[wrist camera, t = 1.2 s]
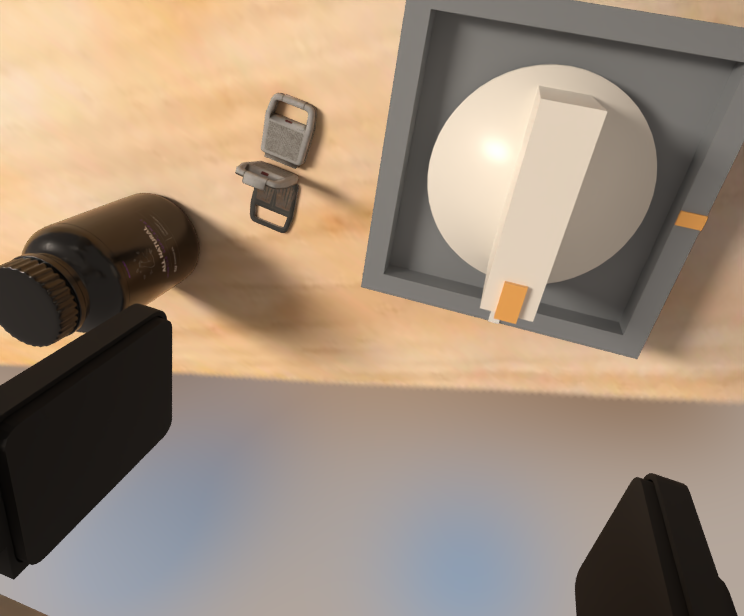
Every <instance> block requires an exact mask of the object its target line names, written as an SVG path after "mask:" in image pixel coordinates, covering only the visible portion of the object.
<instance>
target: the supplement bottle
mask: <svg viewBox="0 0 744 616" xmlns="http://www.w3.org/2000/svg"><path fill="white" fill-rule="evenodd" d="M198 256H199V243H198V238H197V234H196V231H195V229H194V227H193V225H192V223H191V221H190V220H189V218H188V217H187V216H186V214H185V213H184V212H183V211H182V210H181V209H180V208H179V207H178V206H177V205H176V204H174V203H173V202H171V201H170V200H168V199H166V198H164V197H162V196H159V195H156V194H151V193H139V194H134V195H131V196H128V197H125V198H122V199H119V200H117V201H114V202H111V203H108V204H106V205H103V206H100V207H98V208H95V209H92V210H89V211H87V212H84V213H81V214H79V215H76V216H73V217H70V218H68V219H65V220H62V221H59V222H57V223H54V224H51V225H49V226H47V227H44V228H42V229H40V230H38V231H37V232H36V233H34V234H33V235H32V236H31V237H30V239H29V240H28V241H27V243H26V245H25V247H24V249H23V251H22V255H21V256H19V257H16V258H14V259H13V260H11V261H10V262H7V263H5V264H2V265H0V325H1V326H2V327H3V328H4V329H5V331H7V332H8V333H10V334H11V335H12V336H13V337H15V338H17V339H18V340H19V341H21V342H24V343H26V344H27V345H32V346H39V347H42V346H49V345H51V344H53V343H55V342H57V341H59V340H60V339H62V338H64V337H65V336H68V335H71V334H72V333H74V332H75V331H76V332H82V333H87V332H88V331H90V330H92V329H93V328H95V327H97V326H98V325H100V324H101V323H103V322H105V321H106V320H108V319H110V318H111V317H113V316H115V315H116V314H118V313H119V312H121V311H123V310H124V309H126V308H128V307H129V306H131V305H133V304H135V303H138V304H142V305H145V306H146V305H147V304H149V303H150V302H152V301H153V300H155V299H156V298H158V297H159V296H161V295H162V294H164V293H165V292H167V291H168V290H170V289H171V288H173V287H174V286H176V285H177V284H178V283H180V282H181V281H183V280H184V279H185V278H187V277H188V276H189V275H190V274H191V273H192V271H193V270H194V268H195V266H196V264H197V261H198Z"/></svg>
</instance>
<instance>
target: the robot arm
mask: <svg viewBox="0 0 744 616" xmlns="http://www.w3.org/2000/svg"><path fill="white" fill-rule="evenodd" d="M171 422H172V324H171V322H170V321H168V320H167V316H166V314H165V313H164V312H163V311H161V310H158V309H155V308H151V307H148V306H145V305H142V304H138V303H135V304H133V305H131V306H129V307H128V308H126V309H124V310H123V311H121V312H119V313H118V314H116V315H115V316H113V317H111V318H110V319H108V320H106V321H105V322H103V323H101V324H100V325H98V326H97V327H95V328H93V329H92V330H90V331H88V332H87V333H85V334H84V335H82V336H80V337H79V338H77V339H75V340H74V341H72V342H70V343H69V344H67V345H66V346H64V347H62V348H61V349H59V350H57V351H56V352H54V353H53V354H51V355H49V356H48V357H46V358H44V359H43V360H41V361H39V362H38V363H36V364H35V365H33V366H31V367H30V368H28V369H26V370H25V371H23V372H22V373H20V374H18V375H17V376H15V377H13V378H12V379H10V380H9V381H7V382H6V383H4V384H2V385H0V574H3V575H5V576H7V577H9V578H11V579H15V578H16V577H17V576H18V575H19V574H20V573H21V572H22V571H23V570H24V569H25V568H26V567H27V566H28V565H29V564H31V565H34V564H37V563H38V562H40V561H42V559H44V558H45V557H46V556H47V555H48V554H49V553H50V552H51V551H52V550H53V549H54V548H55V547H56V546H57V545H58V544H59V543H60V542H61V541H62V540H63V539H64V538H65V537H66V536H67V535H68V533H70V532H71V531H72V530H73V529H74V527H76V525H77V524H78V523H79V522H80V521H81V520H82V519H83V518H84V517H85V516H86V515H87V514H88V513H89V512H90V511H91V510H92V509H93V508H94V507H95V506H96V505H97V504H98V503H99V502H100V501H101V500H102V499H103V498H104V497H105V496H106V495H107V494H108V493H109V492H110V491H111V490H112V489H113V488H114V487H115V486H116V485H117V484H118V483H119V482H120V481H121V480H122V479H123V478H124V477H125V476H126V475H127V474H128V473H129V472H130V471H131V470H132V468H134V466H135V465H137V464H138V463H139V461H140V460H141V459H142V458H143V457H144V456H145V455H146V454H147V453H148V452H149V451H150V450H151V449H152V448H153V447H154V446H155V445H156V444H157V443H158V442H159V441H160V440H161V439H162V438H163V437H164V436H165V435H166V433H167V431H168V430H169V427H170V425H171ZM575 599H576V613H577V616H737V613H736V610H735V607H734V604H733V601H732V598H731V596H730V593H729V591H728V589H727V587H726V585H725V583H724V582H723V581H722V580H721V579H720V578H719V577H718V573H717V570H716V567H715V564H714V562H713V559H712V556H711V553H710V550H709V547H708V544H707V541H706V538H705V535H704V532H703V530H702V527H701V524H700V521H699V518H698V515H697V512H696V509H695V506H694V503H693V500H692V497H691V494H690V492H689V489H688V487H687V486H686V485H684V484H683V483H680V482H677V481H674V480H671V479H668V478H665V477H662V476H659V475H656V474H653V473H649V474H648V475H646V476H645V477H644V479H642V478H639V477H636V478H634V479H633V480H632V482H631V483H630V485H629V486H628V488H627V490H626V491H625V493H624V495H623V497H622V498H621V500H620V502H619V503H618V505H617V507H616V508H615V510H614V512H613V513H612V515H611V517H610V518H609V520H608V522H607V524H606V525H605V527H604V528H603V530H602V532H601V534H600V535H599V537H598V539H597V540H596V542H595V544H594V545H593V547H592V549H591V551H590V552H589V554H588V555H587V557H586V559H585V561H584V562H583V564H582V566H581V567H580V569H579V571H578V574H577V578H576V583H575ZM0 616H47V615H46V614H43V613H41V612H39V611H37V610H34V609H32V608H30V607H28V606H25V605H23V604H21V603H19V602H16V601H14V600H12V599H10V598H8V597H6V596H3V595H1V594H0Z"/></svg>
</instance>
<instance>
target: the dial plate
mask: <svg viewBox="0 0 744 616" xmlns="http://www.w3.org/2000/svg"><path fill="white" fill-rule="evenodd" d="M539 64H560V65H569V66H574V67H578V68H582V69H585V70H588V71H590V72H593V73H595V74H597V75H600V76H602V77H603V78H605V79H607V80H608V81H610V82H611V83H613V84H615V85H616V86H617V87H619V88H620V89H621V90H622V91H623V92H625V93H626V94H627V95H628V96H629V97H630V98H631V99H632V101H633V102H634V103H635V104H636V105H637V106H638V108H639V109H640V111H641V113H642V114H643V116H644V117H645V119H646V121H647V123H648V126H649V128H650V130H651V133H652V136H653V140H654V144H655V148H656V156H657V178H656V184H655V189H654V194H653V197H652V200H651V203H650V206H649V209H648V211H647V213H646V215H645V217H644V219H643V221H642V223H641V224H640V226H639V227H638V229H637V230H636V232H635V233H634V235H633V236H632V237H631V238H630V239H629V240H628V242H627V243H626V244H625V245H624V246H623V247H622V248H621V249H620V250H619V251H618V252H617V253H615V254H614V255H613V256H612V257H611V258H609V259H608V260H607V261H605V262H604V263H602V264H601V265H599V266H598V267H596V268H594V269H592V270H590V271H588V272H586V273H584V274H582V275H579V276H577V277H574V278H571V279H567V280H564V281H560V282H554V283H548V284H546V287H545V289H544V292H543V295H542V298H541V301H540V303H539V306H538V309H537V312H536V315H535V318H534V320H533V322H531V321H527V320H524V319H520V318H518V319H517V322H516V324H513V323H509V322H506V321H502V320H498V319H494V314H495V312H493V311H489V310H485V309H481V308H480V304H481V299H482V294H483V288H484V283H485V278H486V274H485V273H483V272H481V271H479V270H477V269H476V268H474V267H472V266H471V265H469V264H468V263H467V262H465V261H464V260H463V259H462V258H460V257H459V256H458V255H457V254H456V253H455V252H454V250H453V249H452V248H451V247H450V246H449V245H448V243H447V242H446V241H445V239H444V238H443V236H442V234H441V233H440V231H439V229H438V227H437V225H436V223H435V220H434V218H433V215H432V211H431V207H430V204H429V197H428V169H429V162H430V158H431V155H432V151H433V148H434V145H435V143H436V140H437V138H438V135H439V133H440V132H441V130H442V128H443V126H444V125H445V123H446V121H447V120H448V119H449V117H450V116H451V115H452V113H453V112H454V111H455V109H456V108H457V107H458V106H459V105H460V104H461V103H462V102H463V101H464V100H465V99H466V98H467V97H468V96H469V95H470V94H472V93H473V92H474V91H475V90H477V89H478V88H479V87H480V86H482V85H484V84H485V83H487V82H488V81H490V80H492V79H493V78H495V77H498V76H500V75H502V74H504V73H506V72H509V71H512V70H515V69H519V68H522V67H527V66H533V65H539ZM743 142H744V28H742V27H736V26H730V25H724V24H718V23H711V22H705V21H699V20H693V19H686V18H680V17H674V16H668V15H662V14H655V13H649V12H643V11H637V10H630V9H624V8H618V7H612V6H605V5H599V4H593V3H587V2H581V1H574V0H406V5H405V12H404V18H403V24H402V31H401V37H400V43H399V50H398V56H397V62H396V69H395V75H394V81H393V88H392V94H391V100H390V107H389V113H388V119H387V126H386V132H385V138H384V145H383V151H382V157H381V164H380V170H379V176H378V183H377V189H376V196H375V202H374V208H373V215H372V221H371V227H370V234H369V240H368V246H367V253H366V259H365V265H364V272H363V278H362V284H361V287H363V288H367V289H370V290H374V291H378V292H382V293H386V294H390V295H393V296H397V297H401V298H405V299H409V300H412V301H416V302H420V303H424V304H428V305H432V306H435V307H439V308H443V309H447V310H451V311H455V312H458V313H462V314H466V315H470V316H474V317H478V318H481V319H485V320H488V321H489V322H493V323H497V324H499V323H501V324H504V325H508V326H512V327H516V328H520V329H524V330H527V331H531V332H535V333H539V334H543V335H547V336H550V337H554V338H558V339H562V340H566V341H570V342H573V343H577V344H581V345H585V346H589V347H593V348H596V349H600V350H604V351H608V352H612V353H615V354H619V355H623V356H627V357H631V358H635V359H638V357H639V355H640V353H641V350H642V348H643V346H644V344H645V342H646V340H647V338H648V336H649V334H650V332H651V330H652V328H653V326H654V324H655V322H656V320H657V318H658V316H659V314H660V312H661V310H662V308H663V306H664V303H665V301H666V299H667V297H668V295H669V293H670V291H671V289H672V287H673V285H674V283H675V281H676V279H677V277H678V275H679V273H680V271H681V269H682V267H683V265H684V263H685V261H686V259H687V256H688V254H689V252H690V250H691V248H692V246H693V244H694V242H695V240H696V238H697V236H698V234H699V232H700V231H702V229H703V227H704V225H705V223H706V221H707V219H708V214H709V212H710V209H711V207H712V205H713V203H714V201H715V199H716V197H717V195H718V193H719V191H720V189H721V187H722V185H723V183H724V181H725V179H726V177H727V175H728V173H729V171H730V169H731V167H732V165H733V162H734V160H735V158H736V156H737V154H738V152H739V150H740V148H741V146H742V144H743Z"/></svg>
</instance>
